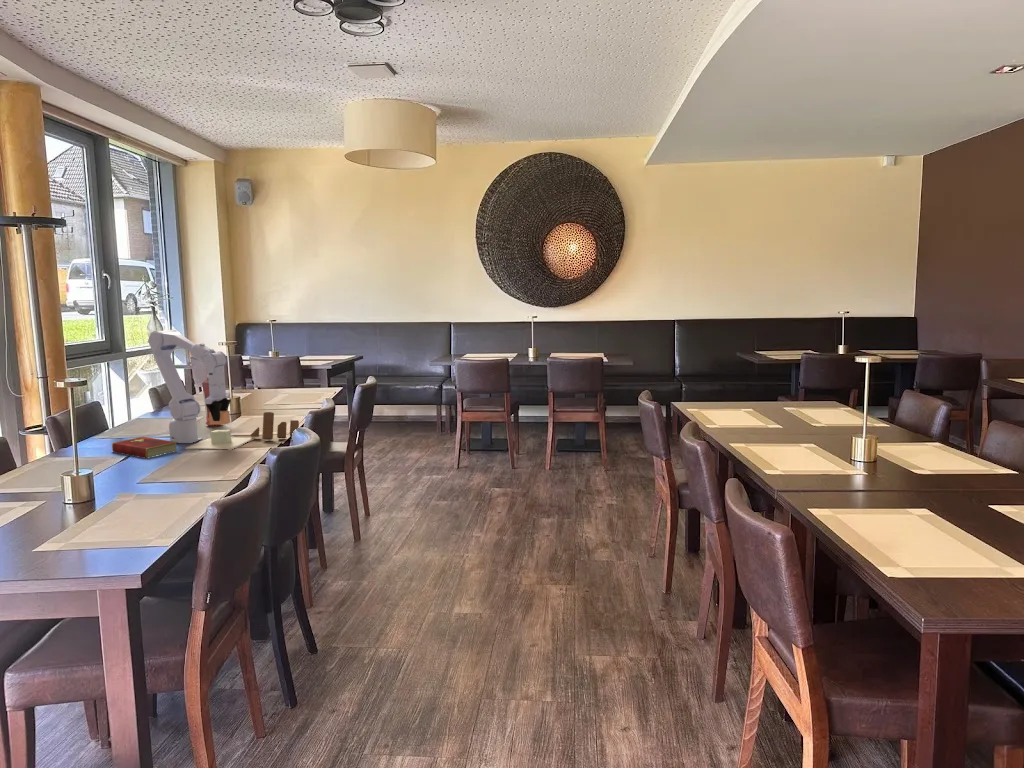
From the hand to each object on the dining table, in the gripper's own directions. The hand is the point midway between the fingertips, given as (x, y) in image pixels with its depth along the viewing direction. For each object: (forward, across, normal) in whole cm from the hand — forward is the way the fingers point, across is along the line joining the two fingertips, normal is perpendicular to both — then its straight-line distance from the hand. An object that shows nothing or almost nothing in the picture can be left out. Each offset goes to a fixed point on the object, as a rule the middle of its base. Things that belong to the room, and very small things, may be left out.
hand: (219, 419), depth 262 cm
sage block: (+9, 0, 0) cm, 9 cm away
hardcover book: (+10, -13, +22) cm, 28 cm away
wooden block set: (+9, +9, -17) cm, 21 cm away
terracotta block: (+1, 0, 0) cm, 1 cm away
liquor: (+10, +34, +22) cm, 42 cm away
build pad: (+9, 0, 0) cm, 9 cm away
